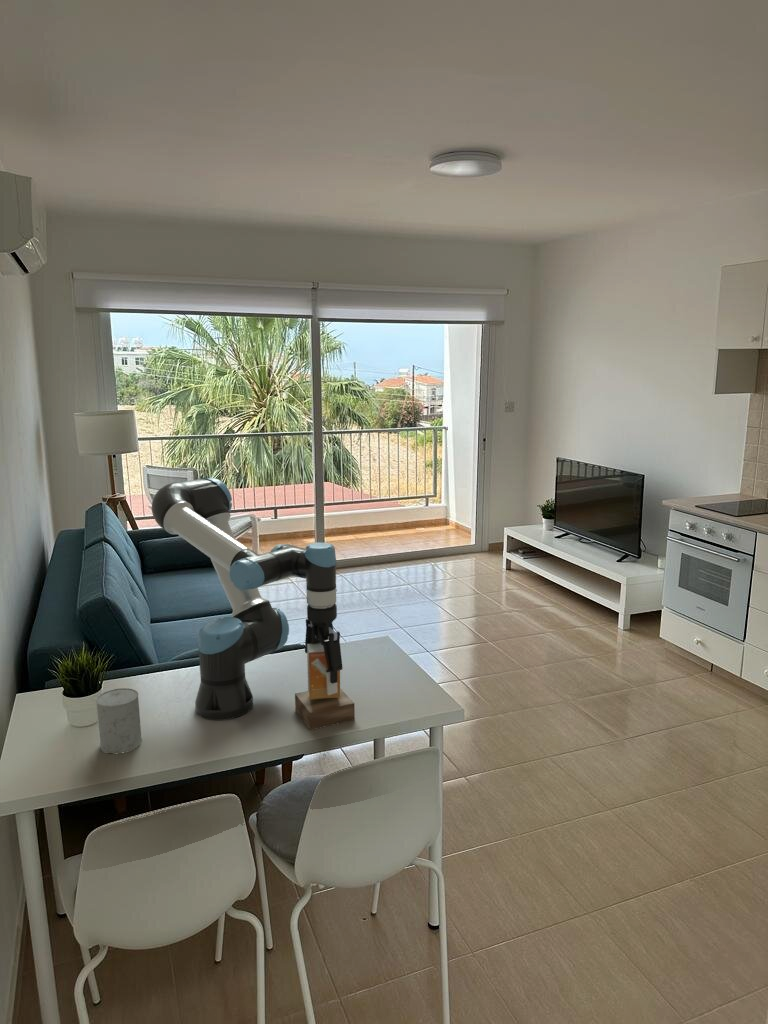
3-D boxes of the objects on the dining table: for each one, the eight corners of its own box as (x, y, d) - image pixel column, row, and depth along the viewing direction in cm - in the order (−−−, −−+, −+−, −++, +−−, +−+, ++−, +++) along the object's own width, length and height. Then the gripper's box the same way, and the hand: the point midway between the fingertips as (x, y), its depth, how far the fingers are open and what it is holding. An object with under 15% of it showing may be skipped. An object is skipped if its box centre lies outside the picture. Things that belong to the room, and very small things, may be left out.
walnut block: (295, 710, 193) (294, 693, 192) (337, 701, 198) (337, 684, 197) (310, 731, 183) (310, 712, 182) (354, 721, 188) (354, 703, 187)
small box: (309, 700, 186) (308, 652, 183) (307, 689, 192) (306, 643, 189) (341, 697, 187) (340, 650, 184) (338, 687, 193) (337, 641, 191)
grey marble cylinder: (149, 736, 180) (146, 690, 178) (128, 756, 171) (123, 708, 168) (115, 732, 182) (111, 686, 180) (92, 751, 173) (87, 704, 171)
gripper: (356, 612, 178) (357, 698, 183) (314, 590, 195) (316, 669, 200) (329, 618, 174) (331, 706, 178) (289, 595, 191) (292, 676, 196)
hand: (323, 687), depth 189 cm, fingers closed on small box, 8 cm apart
